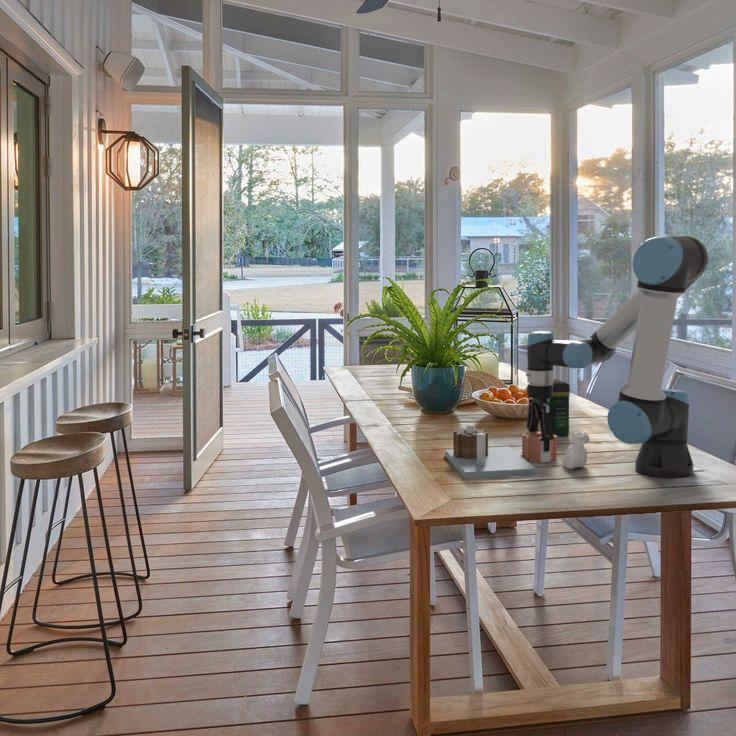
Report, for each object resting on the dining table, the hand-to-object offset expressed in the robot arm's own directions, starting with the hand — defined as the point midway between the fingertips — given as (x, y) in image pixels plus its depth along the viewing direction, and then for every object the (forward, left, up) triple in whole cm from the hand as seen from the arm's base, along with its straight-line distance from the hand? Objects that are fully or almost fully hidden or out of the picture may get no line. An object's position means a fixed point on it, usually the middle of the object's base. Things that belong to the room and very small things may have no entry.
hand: (539, 457), depth 237 cm
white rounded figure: (-11, -7, 0) cm, 13 cm away
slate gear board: (-5, +17, 0) cm, 18 cm away
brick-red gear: (0, 0, 0) cm, 0 cm away
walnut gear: (0, +21, +2) cm, 21 cm away
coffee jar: (+30, -16, 0) cm, 34 cm away
